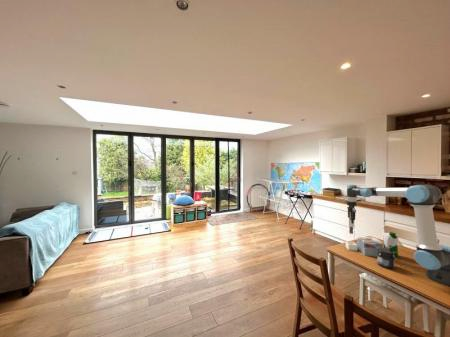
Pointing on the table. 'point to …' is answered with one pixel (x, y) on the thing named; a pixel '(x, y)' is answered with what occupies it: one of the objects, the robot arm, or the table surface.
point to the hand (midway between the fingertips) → (351, 226)
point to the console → (369, 250)
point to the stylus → (350, 227)
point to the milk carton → (391, 242)
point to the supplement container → (386, 258)
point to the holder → (351, 246)
